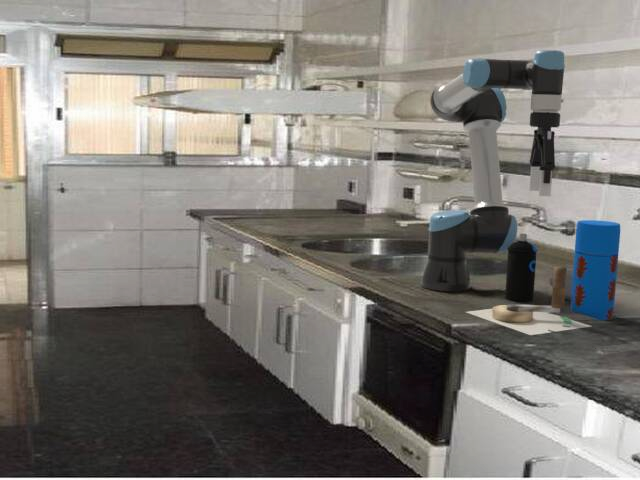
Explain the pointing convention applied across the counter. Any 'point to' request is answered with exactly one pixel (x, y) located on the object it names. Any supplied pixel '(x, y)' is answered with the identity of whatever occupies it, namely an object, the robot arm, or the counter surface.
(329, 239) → the counter surface
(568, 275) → the teacup
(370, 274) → the counter surface
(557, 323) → the scale board
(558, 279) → the crank
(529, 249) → the aerosol can
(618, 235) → the thermos
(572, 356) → the counter surface
